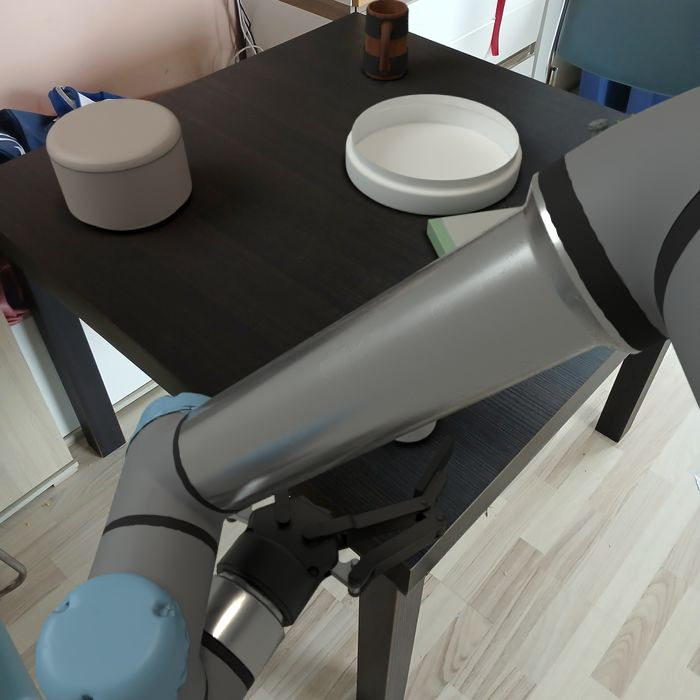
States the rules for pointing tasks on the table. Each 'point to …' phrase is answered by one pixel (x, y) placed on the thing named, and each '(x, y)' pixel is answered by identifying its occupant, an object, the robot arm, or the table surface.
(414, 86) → the table surface
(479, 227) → the kitchen scale
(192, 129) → the table surface
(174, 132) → the container
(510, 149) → the white round shallow dish
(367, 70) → the mug
